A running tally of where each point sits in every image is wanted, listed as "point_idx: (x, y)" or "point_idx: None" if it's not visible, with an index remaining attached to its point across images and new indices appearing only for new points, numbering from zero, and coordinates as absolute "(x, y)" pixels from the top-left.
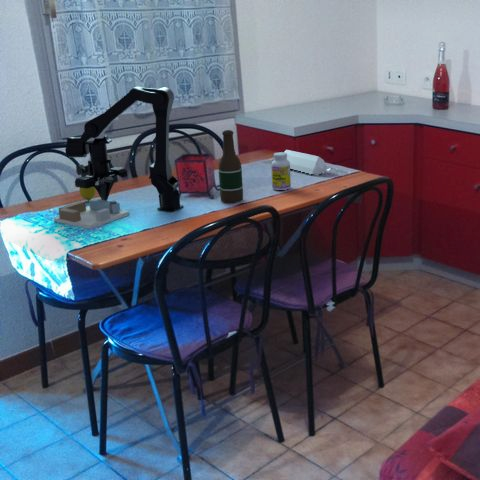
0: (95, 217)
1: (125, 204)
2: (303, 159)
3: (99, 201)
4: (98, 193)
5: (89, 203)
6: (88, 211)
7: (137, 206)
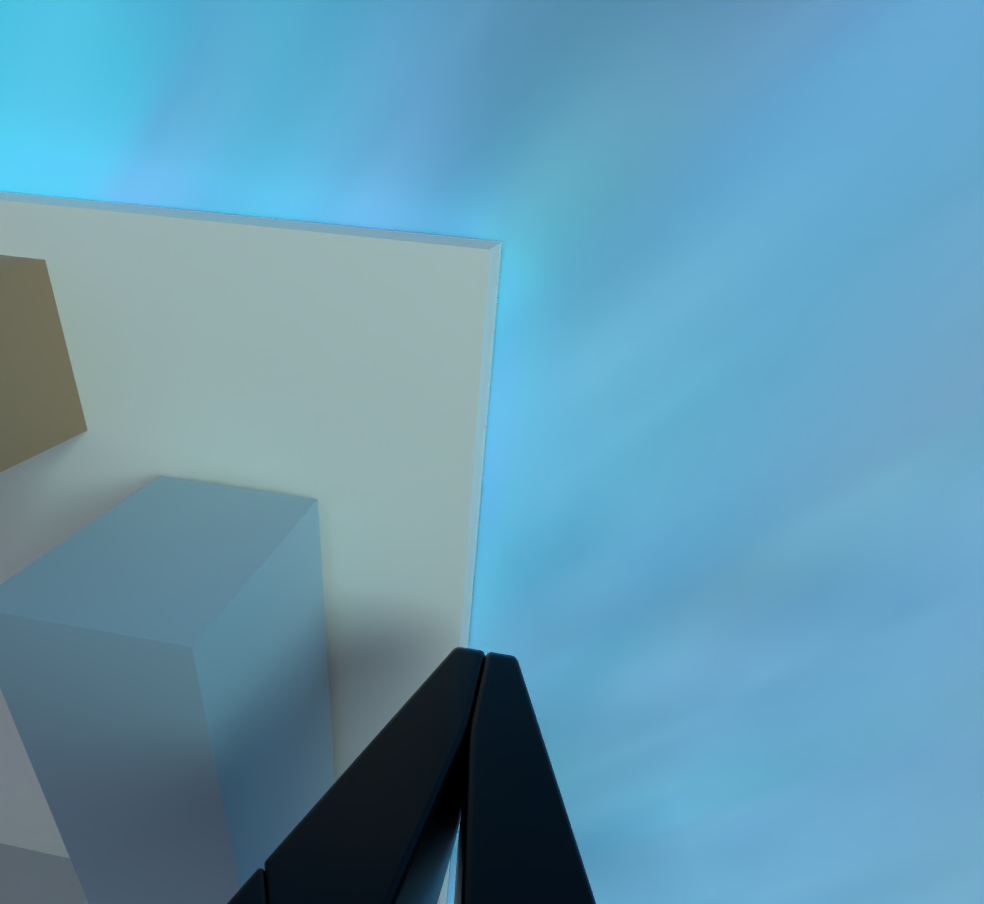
0: (11, 774)
1: (923, 700)
2: None
3: (117, 868)
4: (262, 868)
5: (56, 552)
6: (79, 522)
7: (821, 884)
